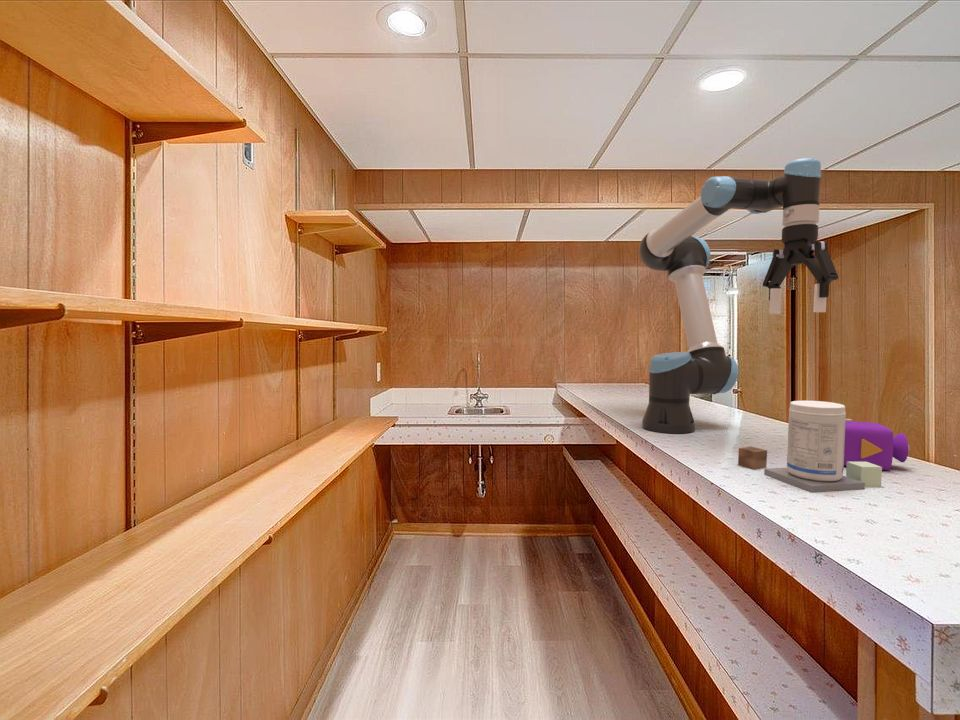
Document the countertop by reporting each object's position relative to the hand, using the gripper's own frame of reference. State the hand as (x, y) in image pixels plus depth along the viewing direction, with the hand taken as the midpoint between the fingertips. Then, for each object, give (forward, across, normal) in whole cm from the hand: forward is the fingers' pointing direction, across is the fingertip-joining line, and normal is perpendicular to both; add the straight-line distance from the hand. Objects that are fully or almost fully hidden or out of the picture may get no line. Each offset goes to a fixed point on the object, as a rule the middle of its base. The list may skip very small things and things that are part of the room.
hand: (796, 313), depth 125 cm
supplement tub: (+34, +22, -15) cm, 43 cm away
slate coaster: (+35, +22, -15) cm, 44 cm away
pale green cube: (+35, +25, -6) cm, 43 cm away
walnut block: (+35, +10, -19) cm, 41 cm away
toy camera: (+35, +14, +8) cm, 39 cm away
